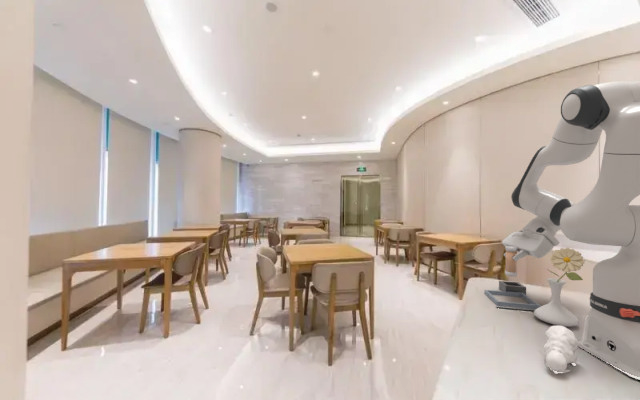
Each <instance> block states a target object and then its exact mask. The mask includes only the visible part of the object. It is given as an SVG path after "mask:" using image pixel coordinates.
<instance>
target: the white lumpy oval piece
mask: <svg viewBox="0 0 640 400" xmlns="http://www.w3.org/2000/svg"><path fill="white" fill-rule="evenodd" d="M545 336H546V340H547V341H546V343H545V344H544V346H543V352H544V354H546V356H545V361H544V360H542V362H543V363H544V364H545V365H546V367H549V368H551V369H552V370H554V371H557V372H565V373H568V372H570V371H571V369H569V370H568V369H567V366H568V364H569V363H575V364H577V361H578V356H576V355H575V352H576V351H577V350H578V347H579V346H578V345H579V342H578V341H579V340H578V339H577V337H576V335H575V333H574V332H573V331H572V330H571V329H569V328H567V327H566V326H558V325H551V326H549V328H548V330H546V331H545ZM549 368H548V369H549ZM551 369H550V370H551ZM552 370H551V371H552Z"/></svg>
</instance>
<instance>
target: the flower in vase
mask: <svg viewBox="0 0 640 400" xmlns="http://www.w3.org/2000/svg"><path fill="white" fill-rule="evenodd" d="M549 260H550V262H551V264H552V266H553V268H555V269H558V270H560V271H561V270H562V272H564V273H563V274H562V275H561V276H559V275H558V273H555V272H553V271H552V270H549V269H548V268H546V269H547V271H548V272H550V273H551V274H554V275H555V276H557V277H559V278H551V277H548V278H546V281H547V282H548V283H549V286H550V291H551V297H550V298H551V299H550V301H549V302H548V303H546V304H543V305H541V307H539V308H537V309H534V310H535V311H534V312H533V314H534V316H535V317H536V318H537V319H538V320H541V321H543V322H545V323H547V324H550V325H553V326H564V327H566V328H567V327H576V326H578V325H579V324H580V321H579V319H578V317H576V315H575V314H574V313H573V312H571V311H570V310H569V309H567V307H565V306H564V305H563V304H562V301H561V300H562V299H561V293H562V288H563V287H564V285H565V284H566V283H567V281H566V280H563V279H562V278H564V276H566V277H567V278H568V280H571V281H584V280H583V278H582V277H581V276H580V275H579V274H578V273H576V272H577V271H579V270H580V269H582V267H583V266H584V264H585V262H586V260H585V259H584V257H583V256H582V253H580V252H579V251H576V250H575V249H573V248H572V249H571V248H569V247H566V248H560V249H555V250H554V252H553V253H551V256H550V258H549Z"/></svg>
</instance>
